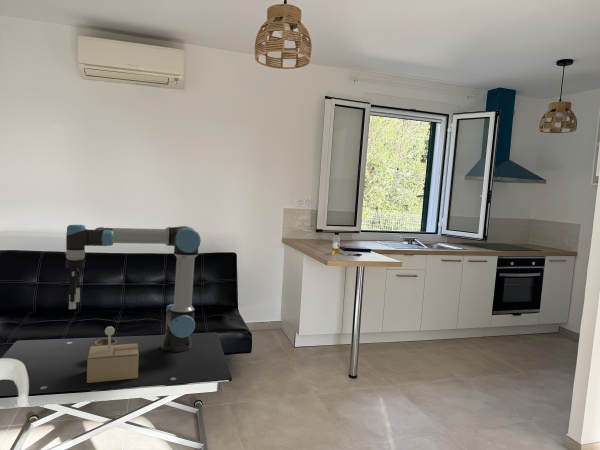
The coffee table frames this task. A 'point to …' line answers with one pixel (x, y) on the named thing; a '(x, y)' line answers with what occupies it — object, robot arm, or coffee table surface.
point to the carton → (114, 365)
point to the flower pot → (105, 342)
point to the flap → (103, 350)
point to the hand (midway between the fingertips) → (74, 305)
